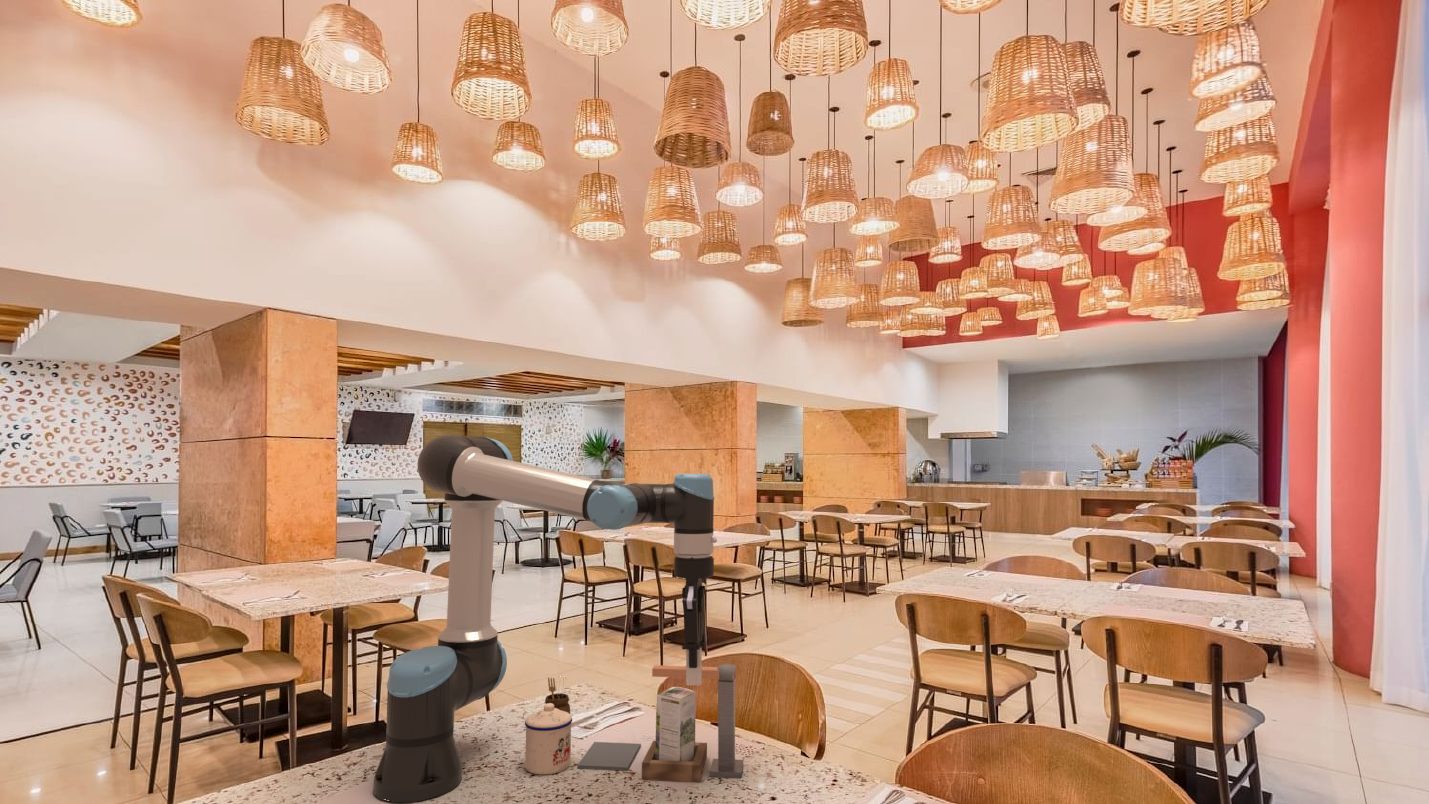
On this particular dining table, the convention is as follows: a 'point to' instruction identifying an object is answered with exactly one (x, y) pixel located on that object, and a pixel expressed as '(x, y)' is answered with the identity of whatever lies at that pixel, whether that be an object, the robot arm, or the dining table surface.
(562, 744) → the teacup with lid
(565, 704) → the utensil holder
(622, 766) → the slate mat
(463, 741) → the dining table surface
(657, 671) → the bar
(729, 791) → the dining table surface
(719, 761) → the clip post
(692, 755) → the syrup box
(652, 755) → the socket collar
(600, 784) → the dining table surface
